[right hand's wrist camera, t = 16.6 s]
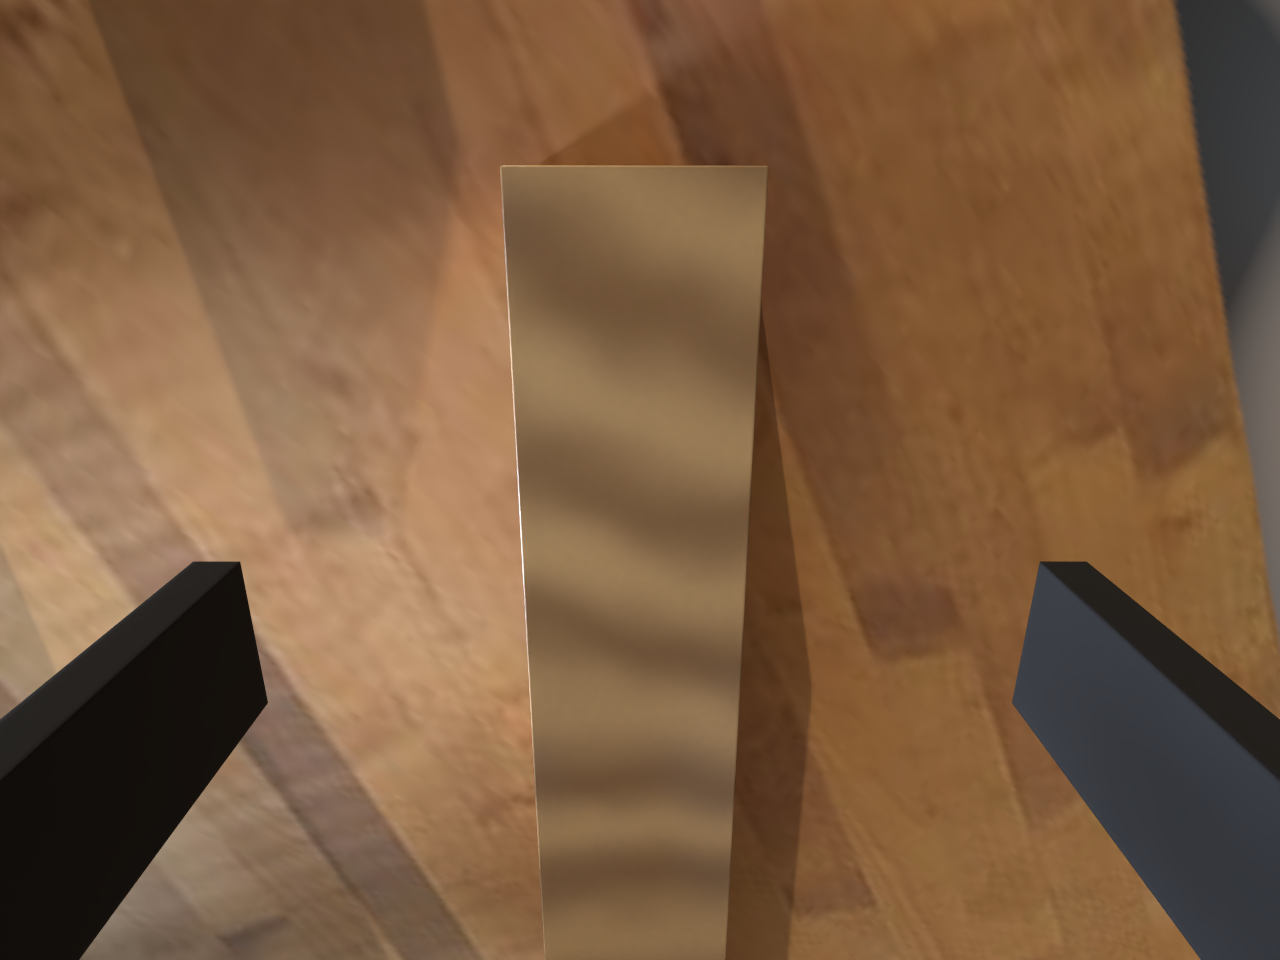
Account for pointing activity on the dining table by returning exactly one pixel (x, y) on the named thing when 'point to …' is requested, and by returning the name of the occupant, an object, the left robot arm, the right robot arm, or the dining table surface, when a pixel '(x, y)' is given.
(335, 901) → the dining table surface
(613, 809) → the long beam
